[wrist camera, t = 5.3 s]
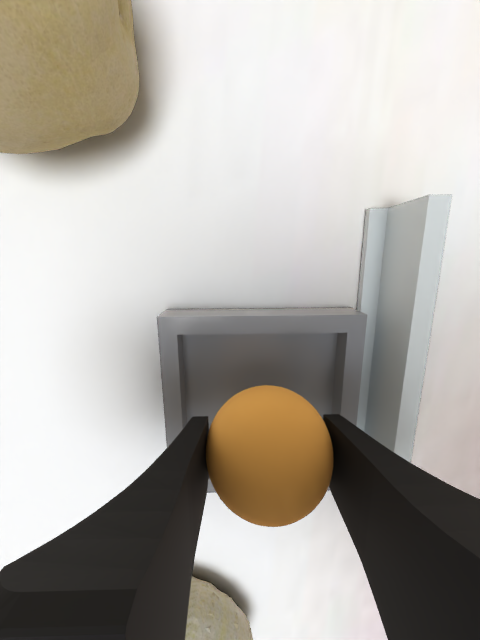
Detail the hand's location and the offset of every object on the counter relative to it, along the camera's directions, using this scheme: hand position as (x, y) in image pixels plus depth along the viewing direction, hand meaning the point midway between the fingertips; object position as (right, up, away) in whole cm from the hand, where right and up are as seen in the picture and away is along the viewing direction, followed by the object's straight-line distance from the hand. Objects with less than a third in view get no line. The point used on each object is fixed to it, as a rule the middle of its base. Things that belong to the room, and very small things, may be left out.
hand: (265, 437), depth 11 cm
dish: (0, +1, +4) cm, 4 cm away
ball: (0, 0, -1) cm, 1 cm away
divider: (+6, +2, +3) cm, 7 cm away
